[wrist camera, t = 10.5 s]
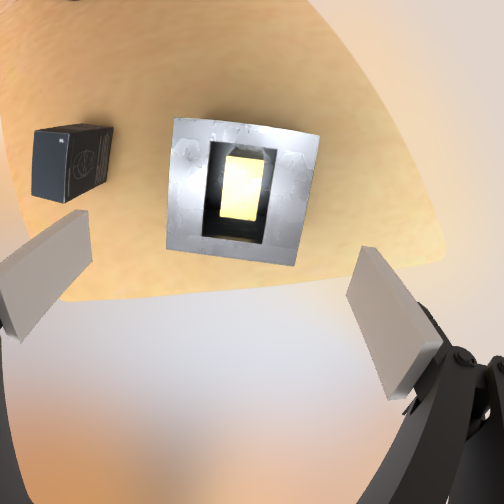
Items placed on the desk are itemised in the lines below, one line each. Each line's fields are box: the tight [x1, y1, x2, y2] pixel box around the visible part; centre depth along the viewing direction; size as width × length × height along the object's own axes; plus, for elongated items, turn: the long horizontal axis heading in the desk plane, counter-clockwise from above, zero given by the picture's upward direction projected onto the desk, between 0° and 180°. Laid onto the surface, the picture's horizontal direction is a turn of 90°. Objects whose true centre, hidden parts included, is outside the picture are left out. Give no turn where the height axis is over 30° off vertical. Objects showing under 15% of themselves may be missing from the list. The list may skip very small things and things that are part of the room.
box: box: [31, 124, 113, 203], centre depth 29 cm, size 8×6×11 cm
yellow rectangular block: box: [220, 149, 264, 221], centre depth 31 cm, size 6×4×8 cm, turn 172°
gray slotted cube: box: [166, 117, 320, 266], centre depth 30 cm, size 12×12×12 cm
